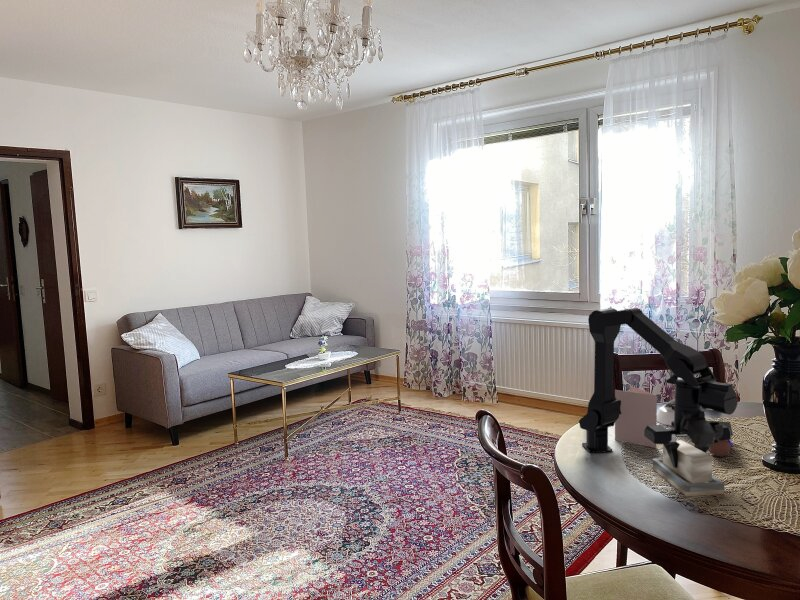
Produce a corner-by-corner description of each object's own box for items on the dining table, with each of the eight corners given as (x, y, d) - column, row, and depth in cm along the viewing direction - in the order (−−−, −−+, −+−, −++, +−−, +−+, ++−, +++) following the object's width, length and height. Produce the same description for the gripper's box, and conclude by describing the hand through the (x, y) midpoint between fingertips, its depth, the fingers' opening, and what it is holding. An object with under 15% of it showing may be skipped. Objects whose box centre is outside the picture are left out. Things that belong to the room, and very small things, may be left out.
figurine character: (702, 443, 169) (705, 456, 155) (703, 417, 169) (705, 428, 155) (729, 446, 166) (734, 460, 152) (730, 419, 166) (735, 430, 152)
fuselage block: (662, 465, 147) (663, 442, 146) (680, 462, 148) (680, 440, 147) (693, 483, 136) (693, 458, 135) (711, 480, 137) (712, 456, 136)
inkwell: (681, 416, 188) (681, 386, 187) (705, 436, 170) (706, 403, 169) (651, 416, 189) (651, 386, 188) (672, 436, 171) (673, 403, 170)
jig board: (652, 468, 150) (652, 458, 150) (686, 466, 150) (686, 456, 150) (686, 496, 134) (686, 486, 134) (724, 493, 135) (724, 483, 134)
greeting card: (658, 447, 164) (659, 395, 162) (636, 451, 161) (636, 398, 160) (631, 434, 174) (632, 385, 173) (610, 437, 172) (610, 388, 171)
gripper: (666, 417, 131) (665, 483, 133) (747, 412, 132) (744, 478, 134) (643, 402, 143) (642, 463, 144) (717, 398, 143) (716, 459, 145)
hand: (686, 466), depth 142 cm, fingers closed on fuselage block, 5 cm apart
